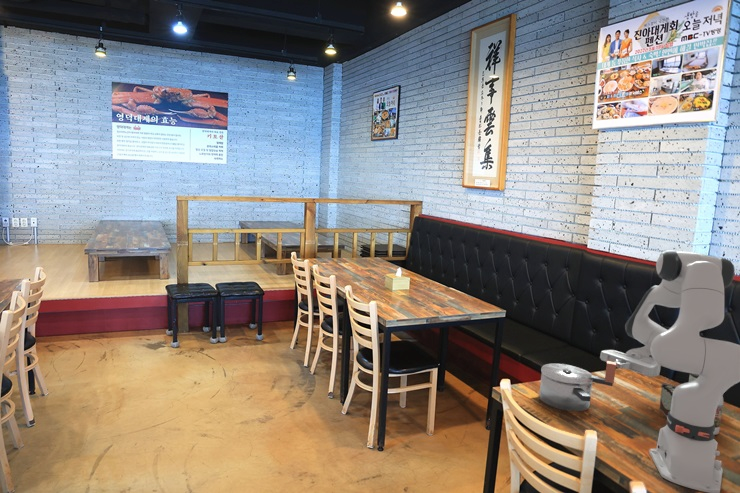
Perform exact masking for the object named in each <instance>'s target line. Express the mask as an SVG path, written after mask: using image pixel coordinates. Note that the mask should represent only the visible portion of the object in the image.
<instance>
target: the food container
mask: <svg viewBox="0 0 740 493" xmlns="http://www.w3.org/2000/svg"><path fill="white" fill-rule="evenodd" d="M677 386H678V385H676V384H675V385H674V384H671V383H668V382H667V383H666V382H662V383H661V385H660V389H661V390H660V401H659V410H661V412H662V413H663V414H664V416H665V417H666V418H667V415H668V412H669V411H670V409H671V402H672V395H673V391H674V389H675V388H676V387H677Z"/></svg>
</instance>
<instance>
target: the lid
mask: <svg viewBox="0 0 740 493" xmlns="http://www.w3.org/2000/svg"><path fill="white" fill-rule="evenodd" d="M616 369H617V367H616V362H611V361H607V362H606V367H605V375H604V377H603V376H597V375H593V374H592V373H591V372H589V371H588V370H586V369H583V368H582V367H578V366H574V365H570V364H566V363H546V364H543V365H542V366H541V368H540V371H541V375H542V374H543V375H544V376H546V377H547V378H549V379H552V380H554V381H557V382H560V383H564V384H570V385H589V384H591V383H592V384H593V383H596V384H601V385H604V386H609V387H613V386H614V385H613V384H614V383H615V376H616Z"/></svg>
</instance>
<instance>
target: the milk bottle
mask: <svg viewBox="0 0 740 493" xmlns="http://www.w3.org/2000/svg"><path fill="white" fill-rule="evenodd" d="M723 396H724V394H723V395H722V396H721V398H720V400H719V403H718V406H717V410H716V414H715V419H714V423H715V434H714V436H716V435H719V432H720V429H721V422H722V415H723V409H724V397H723Z"/></svg>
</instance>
